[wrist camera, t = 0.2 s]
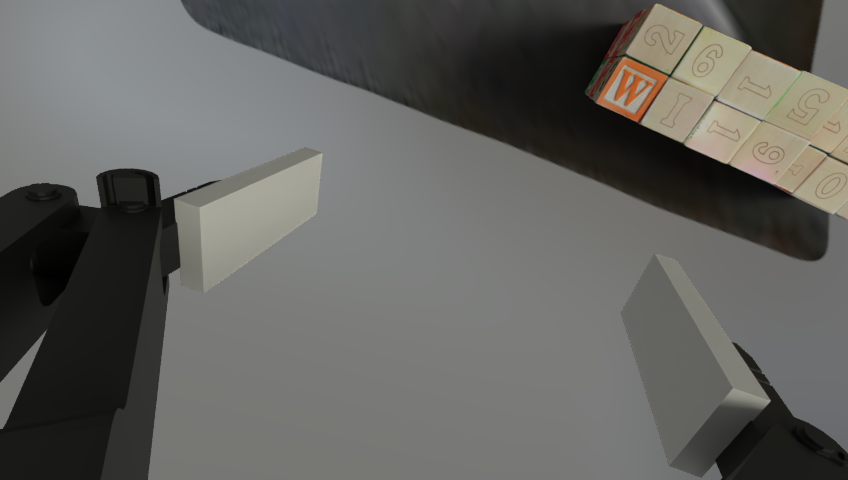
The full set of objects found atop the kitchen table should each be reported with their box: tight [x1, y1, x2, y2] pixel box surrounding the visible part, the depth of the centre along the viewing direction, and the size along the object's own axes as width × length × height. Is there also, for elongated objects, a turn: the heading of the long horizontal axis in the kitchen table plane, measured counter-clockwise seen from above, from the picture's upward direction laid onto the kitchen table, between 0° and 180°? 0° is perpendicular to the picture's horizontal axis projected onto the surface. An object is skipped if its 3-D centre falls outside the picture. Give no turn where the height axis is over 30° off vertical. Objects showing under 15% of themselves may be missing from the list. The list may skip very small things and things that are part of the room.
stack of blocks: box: [585, 4, 848, 220], centre depth 29 cm, size 21×6×12 cm, turn 66°
